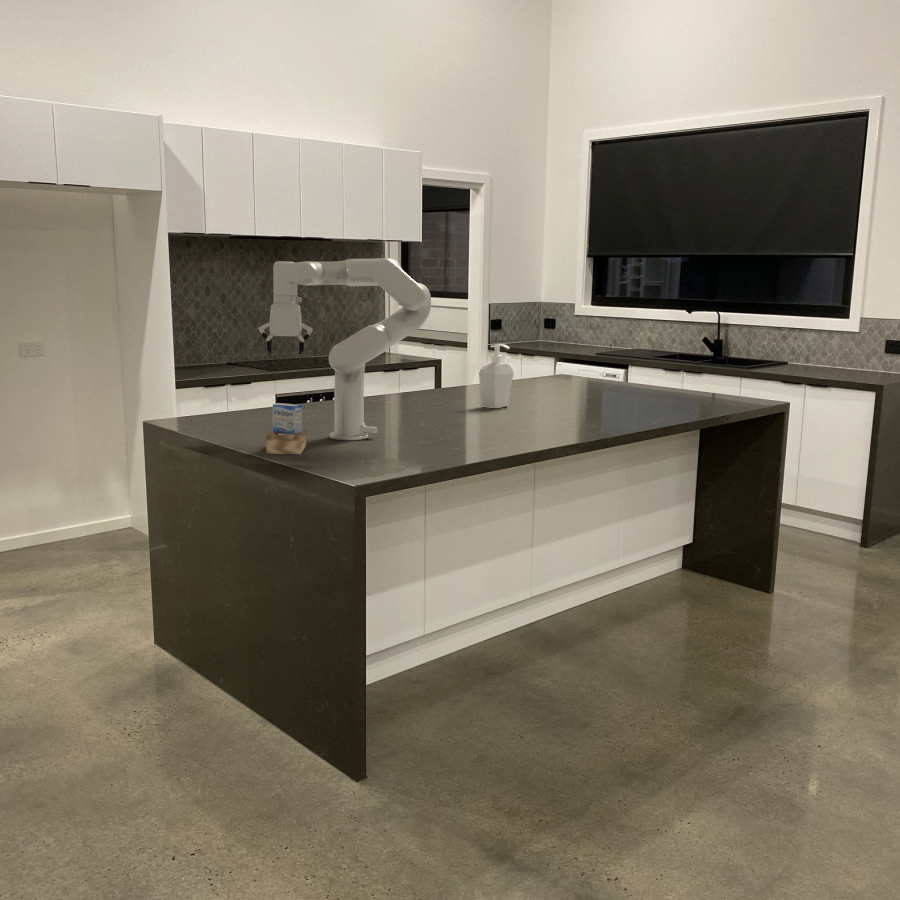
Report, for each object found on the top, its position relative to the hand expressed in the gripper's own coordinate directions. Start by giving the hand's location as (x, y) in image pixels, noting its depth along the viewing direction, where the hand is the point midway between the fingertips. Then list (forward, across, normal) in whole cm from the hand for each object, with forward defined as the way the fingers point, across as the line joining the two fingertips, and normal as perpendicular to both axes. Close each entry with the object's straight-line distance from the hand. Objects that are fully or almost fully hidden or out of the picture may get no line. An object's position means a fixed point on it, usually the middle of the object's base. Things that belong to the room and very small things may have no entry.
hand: (285, 353), depth 295 cm
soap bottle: (+27, -80, -64) cm, 106 cm away
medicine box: (+22, -2, +24) cm, 33 cm away
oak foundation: (+27, -2, +25) cm, 36 cm away
